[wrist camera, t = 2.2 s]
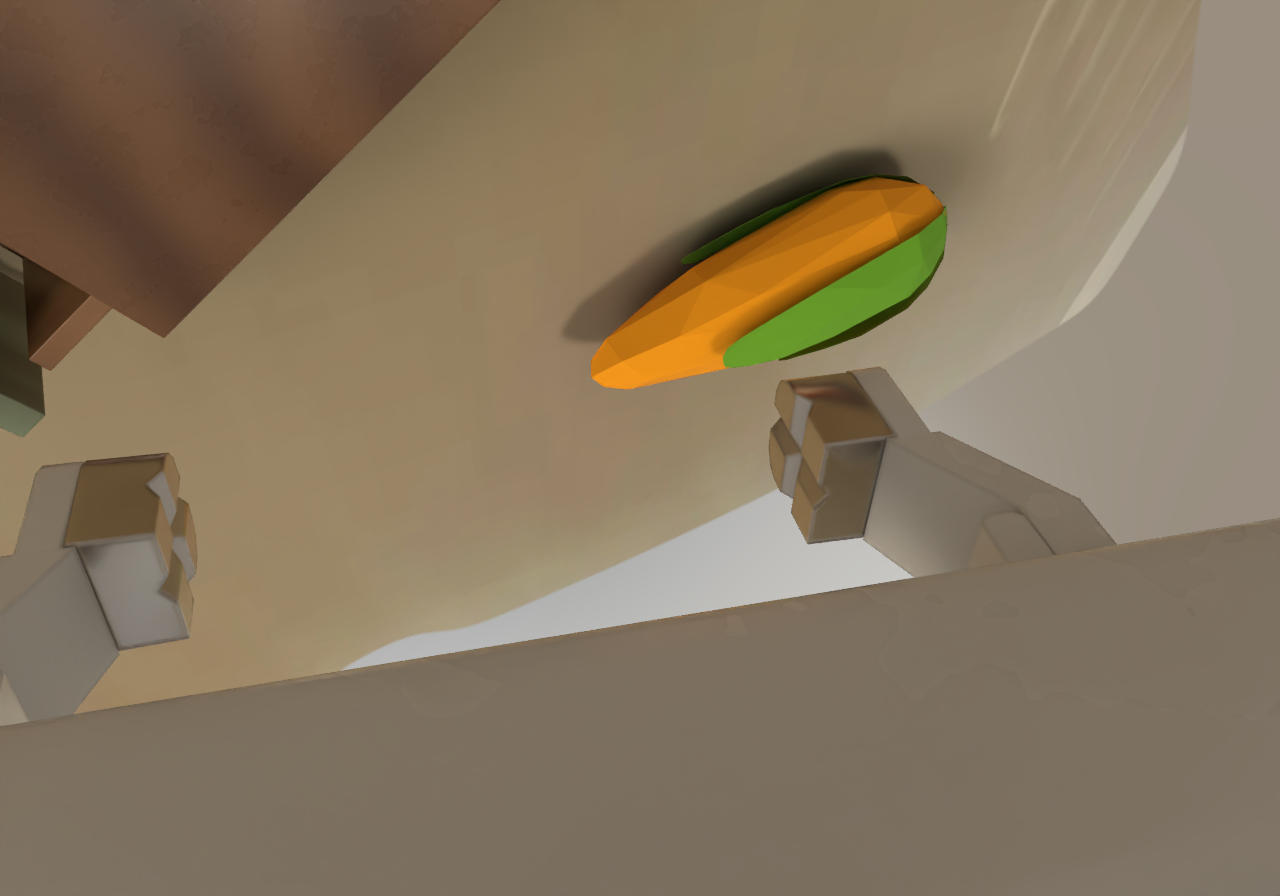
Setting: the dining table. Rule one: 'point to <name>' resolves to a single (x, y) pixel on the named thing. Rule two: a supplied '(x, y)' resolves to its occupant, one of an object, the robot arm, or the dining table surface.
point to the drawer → (37, 338)
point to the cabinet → (189, 128)
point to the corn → (785, 284)
